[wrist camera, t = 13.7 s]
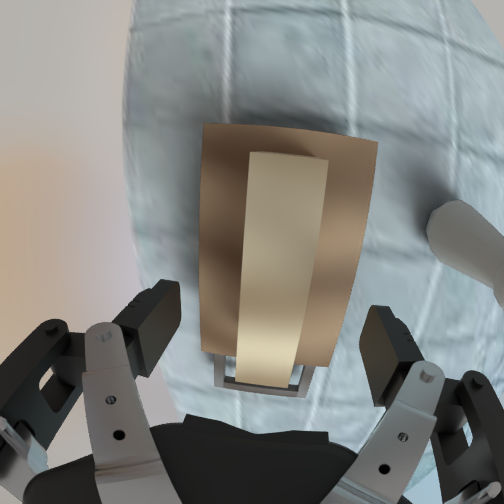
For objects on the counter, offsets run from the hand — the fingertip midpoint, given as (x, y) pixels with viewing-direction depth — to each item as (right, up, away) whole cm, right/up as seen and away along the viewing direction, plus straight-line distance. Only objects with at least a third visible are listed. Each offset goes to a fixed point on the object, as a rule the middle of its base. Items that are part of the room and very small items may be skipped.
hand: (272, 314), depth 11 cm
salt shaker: (+17, +5, +10) cm, 20 cm away
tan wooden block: (+1, -1, +12) cm, 12 cm away
